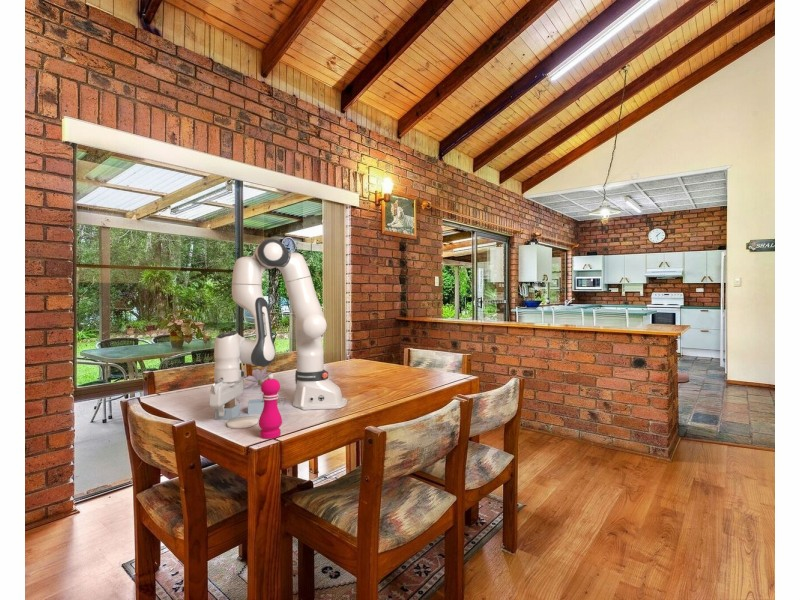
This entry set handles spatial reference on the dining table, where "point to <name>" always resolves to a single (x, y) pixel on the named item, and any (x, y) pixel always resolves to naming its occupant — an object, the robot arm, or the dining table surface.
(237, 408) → the sleeve
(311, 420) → the dining table surface
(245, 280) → the robot arm
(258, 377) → the water lily
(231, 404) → the walnut block
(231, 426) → the plate
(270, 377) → the pepper mill
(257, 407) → the sleeve
